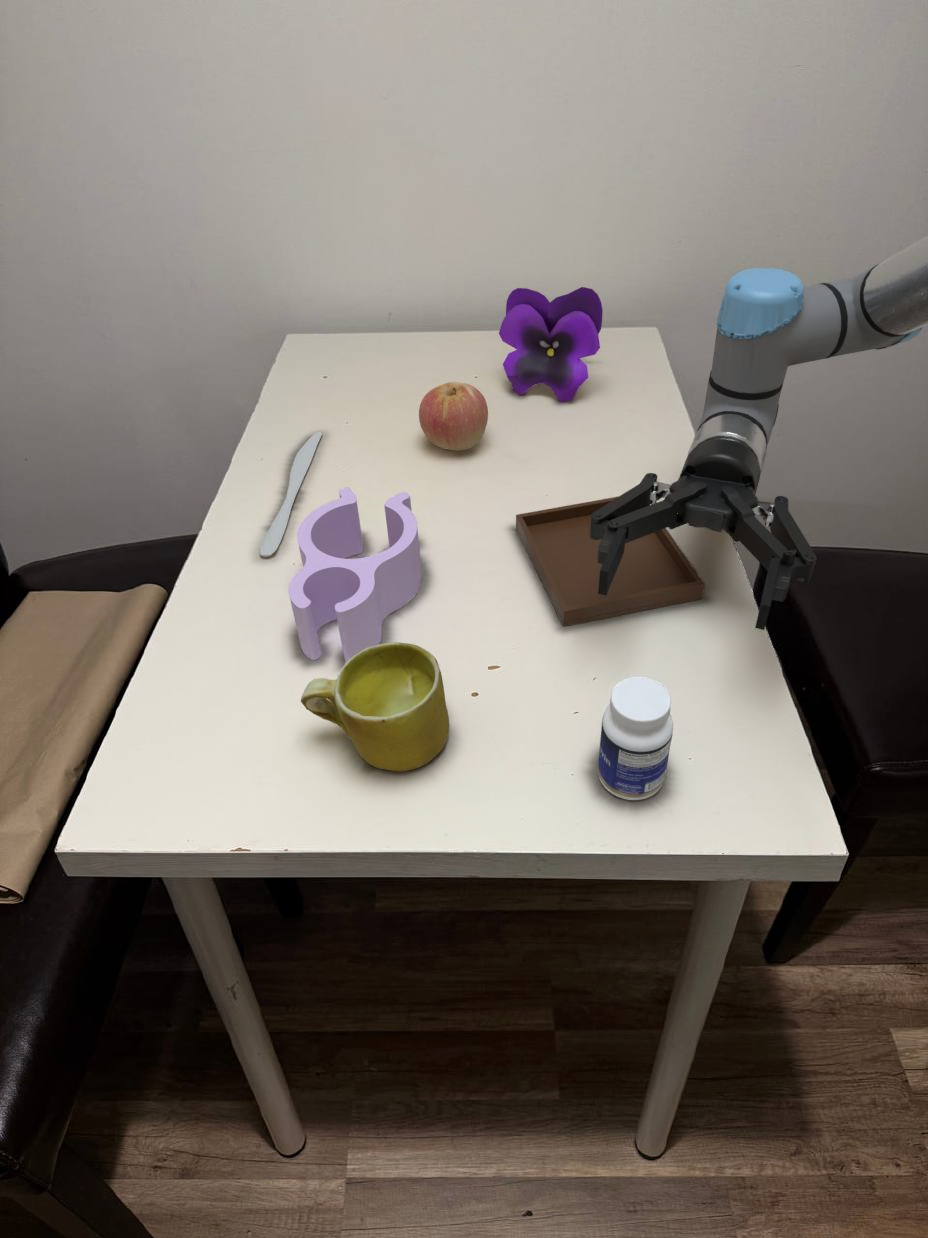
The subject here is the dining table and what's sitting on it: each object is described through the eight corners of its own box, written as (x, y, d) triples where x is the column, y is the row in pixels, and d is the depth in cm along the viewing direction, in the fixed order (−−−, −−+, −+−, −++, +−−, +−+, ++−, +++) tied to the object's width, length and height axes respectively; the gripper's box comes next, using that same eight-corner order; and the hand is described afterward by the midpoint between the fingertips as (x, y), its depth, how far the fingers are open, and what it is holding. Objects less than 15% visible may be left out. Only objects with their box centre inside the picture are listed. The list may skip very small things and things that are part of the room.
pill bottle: (596, 747, 79) (604, 669, 72) (662, 751, 78) (676, 672, 72) (597, 801, 75) (605, 723, 68) (666, 805, 74) (681, 727, 67)
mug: (476, 682, 83) (441, 628, 75) (453, 787, 78) (414, 742, 70) (358, 677, 87) (313, 626, 79) (330, 776, 82) (279, 732, 74)
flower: (515, 391, 137) (486, 390, 125) (531, 289, 133) (502, 277, 121) (607, 406, 133) (586, 406, 121) (627, 300, 129) (607, 289, 116)
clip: (391, 668, 87) (384, 616, 82) (271, 655, 89) (257, 603, 85) (435, 544, 101) (431, 493, 97) (330, 535, 104) (321, 485, 99)
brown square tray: (702, 599, 93) (705, 583, 91) (563, 626, 91) (563, 611, 89) (639, 506, 105) (641, 492, 104) (515, 529, 103) (515, 514, 102)
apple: (474, 466, 113) (472, 409, 108) (410, 454, 116) (405, 398, 110) (498, 432, 119) (497, 377, 114) (437, 421, 122) (433, 367, 116)
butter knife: (248, 553, 100) (273, 553, 100) (306, 431, 120) (327, 431, 120) (250, 557, 101) (275, 557, 100) (307, 435, 121) (328, 434, 120)
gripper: (842, 521, 89) (823, 664, 75) (600, 478, 97) (540, 601, 82) (862, 457, 84) (846, 598, 70) (605, 416, 92) (542, 536, 77)
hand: (680, 600), depth 76 cm, fingers open, 13 cm apart
